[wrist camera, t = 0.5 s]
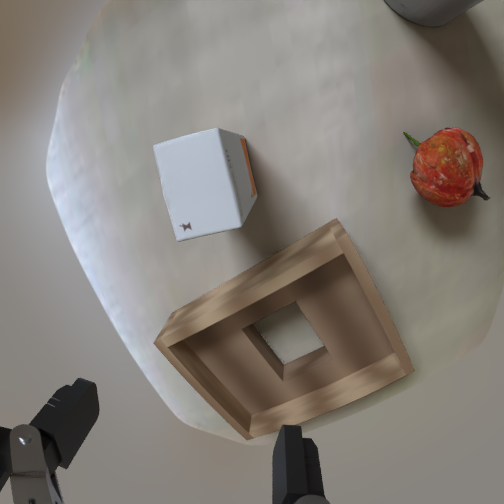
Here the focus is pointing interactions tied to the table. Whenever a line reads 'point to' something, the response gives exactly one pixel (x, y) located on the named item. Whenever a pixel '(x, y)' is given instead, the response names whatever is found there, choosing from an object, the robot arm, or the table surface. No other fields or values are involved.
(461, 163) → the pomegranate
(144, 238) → the table surface
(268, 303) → the crate
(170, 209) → the skincare box
